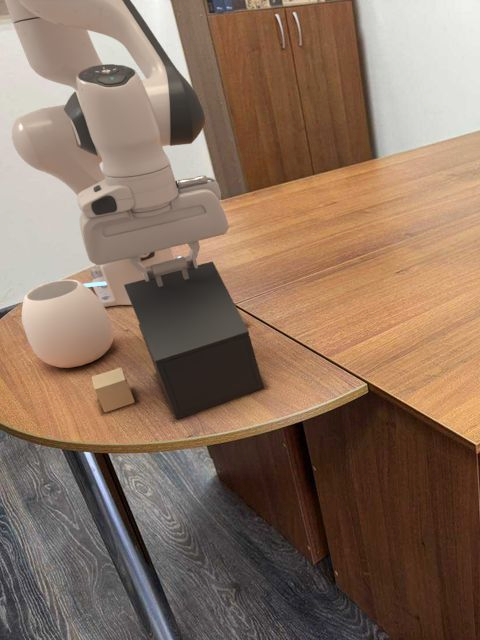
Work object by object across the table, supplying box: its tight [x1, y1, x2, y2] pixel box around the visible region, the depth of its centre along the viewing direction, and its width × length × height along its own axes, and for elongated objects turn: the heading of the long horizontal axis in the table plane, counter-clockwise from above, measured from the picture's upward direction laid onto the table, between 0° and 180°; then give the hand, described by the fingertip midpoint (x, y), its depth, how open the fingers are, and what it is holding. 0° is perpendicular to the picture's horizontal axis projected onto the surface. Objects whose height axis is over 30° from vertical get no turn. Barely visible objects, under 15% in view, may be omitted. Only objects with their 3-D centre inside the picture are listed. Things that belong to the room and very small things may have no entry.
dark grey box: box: [138, 323, 265, 420], centre depth 106 cm, size 16×14×10 cm
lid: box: [124, 256, 250, 364], centre depth 100 cm, size 17×14×5 cm
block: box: [91, 367, 136, 413], centre depth 104 cm, size 4×4×4 cm
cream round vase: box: [21, 279, 115, 369], centre depth 115 cm, size 13×13×14 cm
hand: (171, 273), depth 102 cm, fingers closed on lid, 5 cm apart
